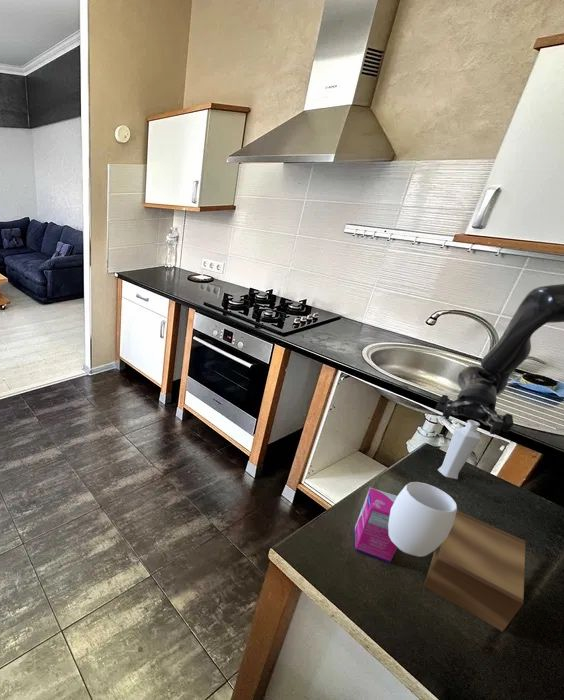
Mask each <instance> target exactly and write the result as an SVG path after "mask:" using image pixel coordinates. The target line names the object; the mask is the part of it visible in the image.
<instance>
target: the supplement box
mask: <svg viewBox="0 0 564 700" xmlns="http://www.w3.org/2000/svg"><path fill="white" fill-rule="evenodd" d="M397 496H398V495H396V494H392V493H389V492H386V491H384V490H383V491H382V490H380V489H376V488H374V487H369V489H368V491H367V494H366V496H365V499H364V502H363V505H362V507H361V510H360V511H359V512H360V513H359V515H358V518H357V521H356V523H355V526H354V530H353V531H354V540H355V541H354V543H355V544H354V545H355V546H354V547H355V548H354V550H355V551H356V552H359V553H362V554H365V555H367V556H370V557H372V558H375V559H377V560H379V561H382V562H385V563H387V564H391V563H392V560H393V558H394V555H395V554H396V551H397V549H398V547H397V546H396V545H395V544H394V543H393V542H392V541H391V539H390V537H389V532H388V523H389V516H390V511H391V507H392V506H393V504H394V502H395V500H396V498H397Z"/></svg>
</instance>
